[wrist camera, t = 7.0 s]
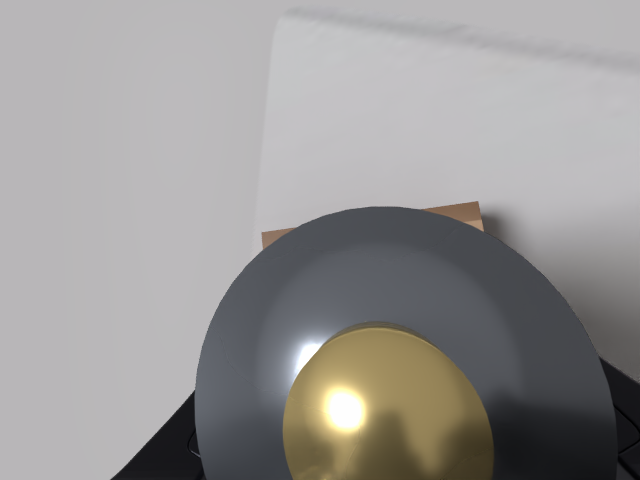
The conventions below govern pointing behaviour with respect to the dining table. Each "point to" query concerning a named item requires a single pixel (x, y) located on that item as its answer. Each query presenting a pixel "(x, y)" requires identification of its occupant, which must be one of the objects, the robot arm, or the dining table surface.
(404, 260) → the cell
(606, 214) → the dining table surface
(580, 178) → the dining table surface
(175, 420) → the robot arm
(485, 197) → the dining table surface
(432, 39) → the dining table surface
